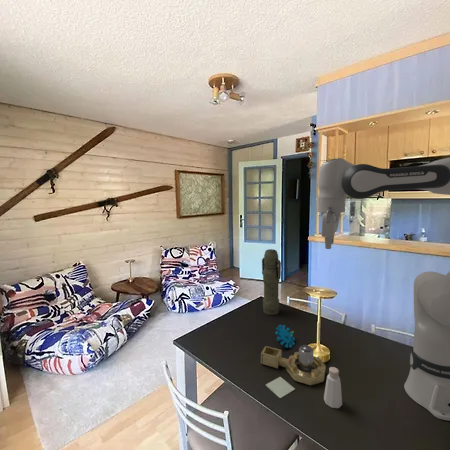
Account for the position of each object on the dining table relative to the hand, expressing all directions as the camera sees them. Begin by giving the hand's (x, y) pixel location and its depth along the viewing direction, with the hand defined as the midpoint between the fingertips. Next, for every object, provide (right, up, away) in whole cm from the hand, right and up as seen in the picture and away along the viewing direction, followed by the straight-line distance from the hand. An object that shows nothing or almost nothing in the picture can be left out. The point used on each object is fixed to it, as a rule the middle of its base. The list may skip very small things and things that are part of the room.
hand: (329, 246), depth 90 cm
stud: (-7, -47, +3) cm, 47 cm away
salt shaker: (-3, -49, -10) cm, 50 cm away
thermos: (-11, -41, +52) cm, 68 cm away
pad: (-18, -48, -4) cm, 51 cm away
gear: (-10, -45, +22) cm, 51 cm away
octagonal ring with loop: (-12, -46, +6) cm, 48 cm away
